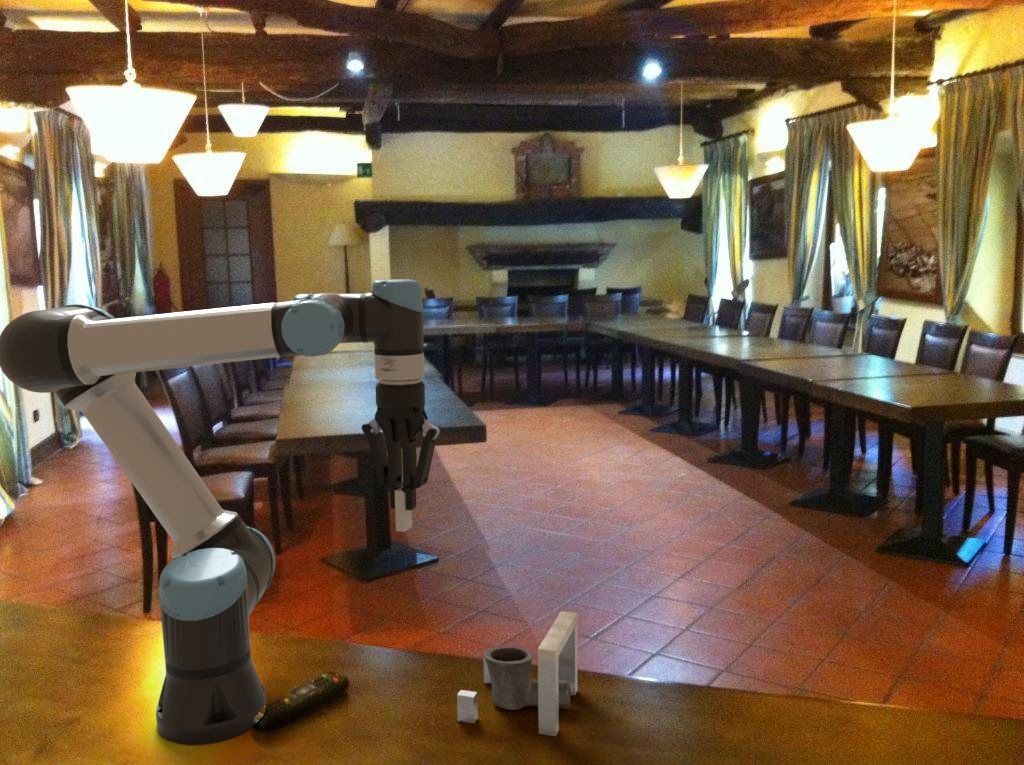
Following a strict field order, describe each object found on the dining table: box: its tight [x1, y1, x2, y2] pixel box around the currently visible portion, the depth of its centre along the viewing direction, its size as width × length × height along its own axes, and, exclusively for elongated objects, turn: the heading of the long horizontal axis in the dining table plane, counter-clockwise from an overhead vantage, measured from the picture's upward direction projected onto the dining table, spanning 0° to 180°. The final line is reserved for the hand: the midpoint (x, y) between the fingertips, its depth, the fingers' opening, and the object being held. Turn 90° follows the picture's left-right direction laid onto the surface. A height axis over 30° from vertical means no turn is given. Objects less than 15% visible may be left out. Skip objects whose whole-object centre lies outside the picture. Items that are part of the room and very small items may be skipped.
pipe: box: [483, 645, 572, 711], centre depth 129 cm, size 6×13×8 cm, turn 81°
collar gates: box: [456, 610, 578, 737], centre depth 129 cm, size 14×13×12 cm
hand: (404, 528), depth 138 cm, fingers closed
